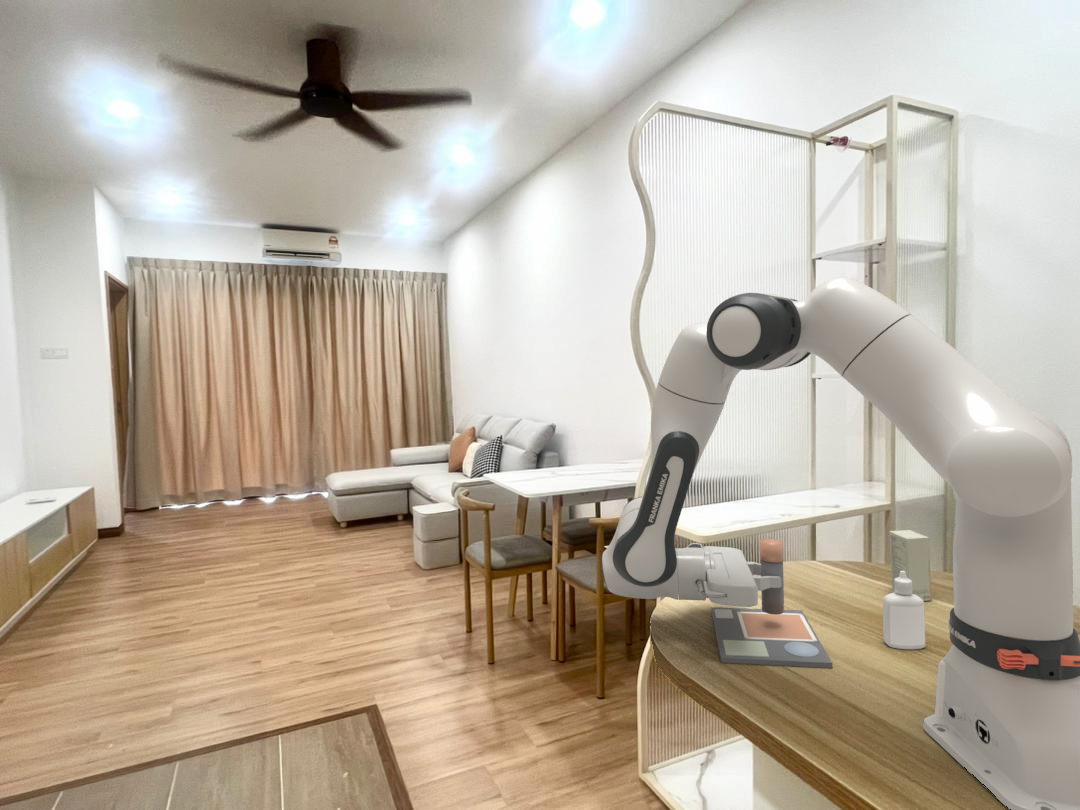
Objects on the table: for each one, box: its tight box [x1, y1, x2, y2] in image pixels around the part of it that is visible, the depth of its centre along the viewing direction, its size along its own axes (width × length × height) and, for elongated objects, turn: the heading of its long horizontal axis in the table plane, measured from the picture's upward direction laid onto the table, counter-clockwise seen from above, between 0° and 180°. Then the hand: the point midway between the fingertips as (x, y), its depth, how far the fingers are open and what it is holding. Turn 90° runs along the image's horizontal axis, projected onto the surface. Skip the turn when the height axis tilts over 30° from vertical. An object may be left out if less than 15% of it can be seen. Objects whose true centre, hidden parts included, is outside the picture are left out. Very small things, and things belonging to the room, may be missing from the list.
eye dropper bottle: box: [882, 571, 926, 650], centre depth 94 cm, size 4×6×12 cm
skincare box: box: [888, 529, 933, 602], centre depth 114 cm, size 6×4×12 cm
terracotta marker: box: [759, 538, 785, 614], centre depth 102 cm, size 4×4×12 cm
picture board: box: [710, 607, 833, 669], centre depth 100 cm, size 20×16×1 cm
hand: (777, 576), depth 102 cm, fingers closed on terracotta marker, 4 cm apart
